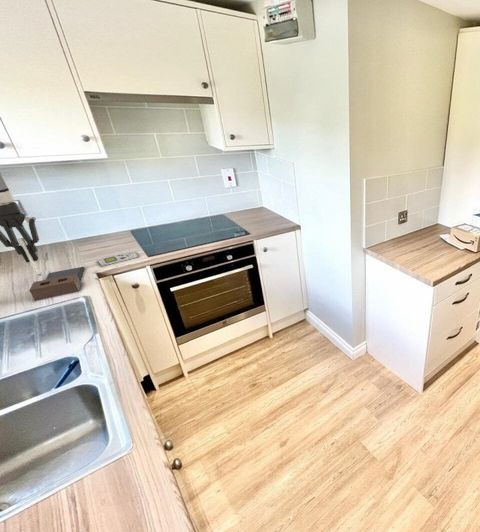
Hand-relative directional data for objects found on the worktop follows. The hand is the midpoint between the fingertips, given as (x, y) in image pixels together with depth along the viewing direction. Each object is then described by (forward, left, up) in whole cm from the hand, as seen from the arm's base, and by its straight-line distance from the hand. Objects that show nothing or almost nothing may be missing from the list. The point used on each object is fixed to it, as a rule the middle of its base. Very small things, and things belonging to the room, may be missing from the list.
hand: (32, 260), depth 129 cm
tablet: (+3, +14, -16) cm, 21 cm away
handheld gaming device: (+22, +26, -16) cm, 37 cm away
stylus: (0, -1, -7) cm, 7 cm away
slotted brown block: (+3, 0, -16) cm, 16 cm away
